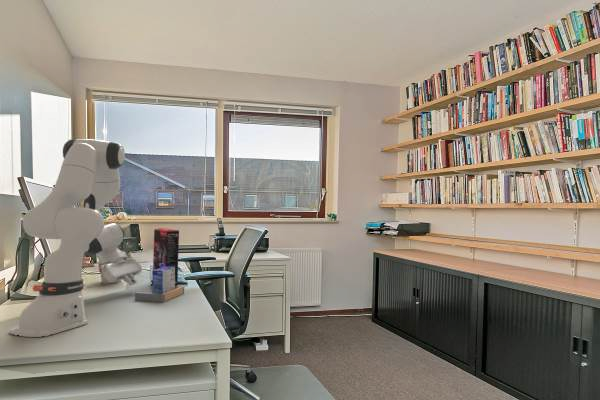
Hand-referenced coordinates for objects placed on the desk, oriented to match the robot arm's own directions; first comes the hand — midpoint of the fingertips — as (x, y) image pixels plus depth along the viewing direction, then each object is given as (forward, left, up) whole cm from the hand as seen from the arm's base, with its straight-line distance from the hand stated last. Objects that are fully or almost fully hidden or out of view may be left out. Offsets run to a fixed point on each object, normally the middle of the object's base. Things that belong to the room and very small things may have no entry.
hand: (133, 284), depth 180 cm
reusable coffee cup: (+20, +27, -5) cm, 34 cm away
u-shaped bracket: (0, -14, -4) cm, 14 cm away
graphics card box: (+22, -2, -5) cm, 23 cm away
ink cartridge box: (0, -15, -5) cm, 16 cm away
